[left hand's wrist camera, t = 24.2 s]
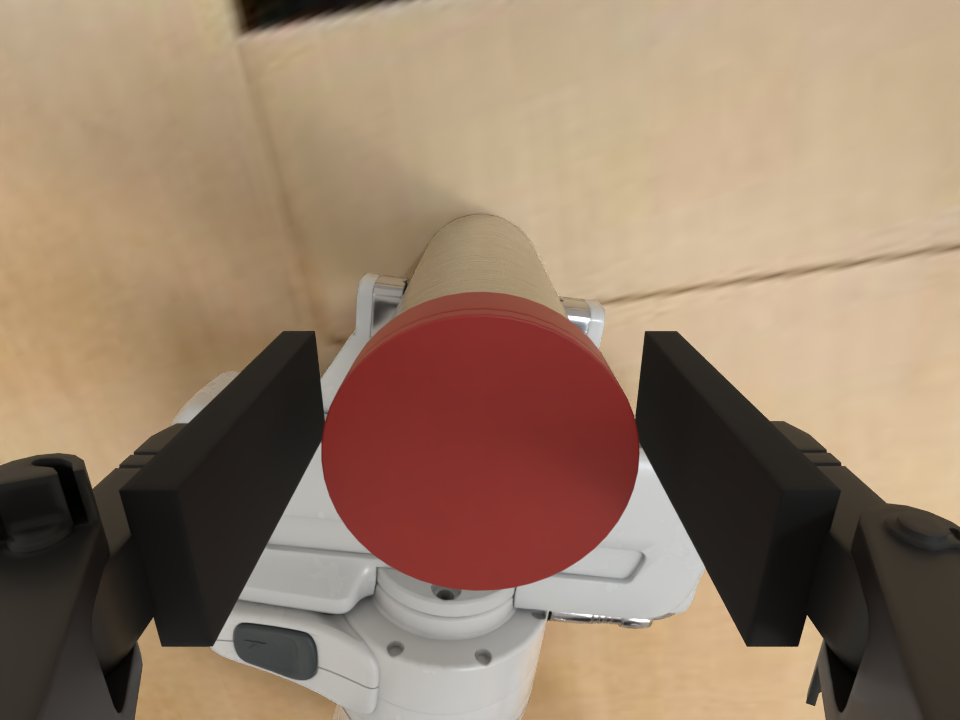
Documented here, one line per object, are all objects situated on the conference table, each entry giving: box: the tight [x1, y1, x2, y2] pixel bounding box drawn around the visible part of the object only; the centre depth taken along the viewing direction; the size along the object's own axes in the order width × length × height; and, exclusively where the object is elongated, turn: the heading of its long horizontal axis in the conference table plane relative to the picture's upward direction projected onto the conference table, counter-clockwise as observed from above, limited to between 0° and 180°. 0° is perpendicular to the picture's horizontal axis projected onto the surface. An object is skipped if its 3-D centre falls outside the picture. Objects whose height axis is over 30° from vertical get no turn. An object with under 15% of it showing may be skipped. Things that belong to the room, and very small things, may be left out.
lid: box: [321, 292, 640, 591], centre depth 11 cm, size 6×6×2 cm
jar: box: [390, 214, 570, 321], centre depth 18 cm, size 5×5×15 cm
